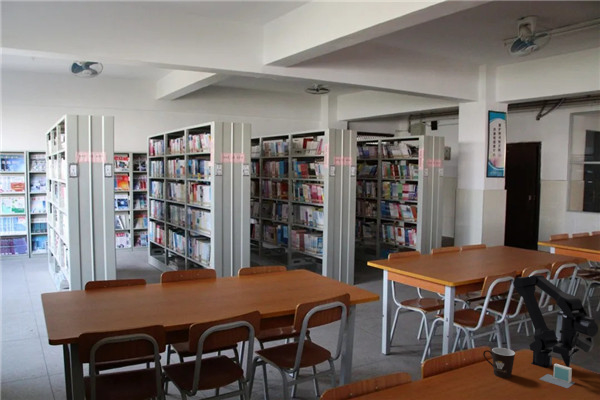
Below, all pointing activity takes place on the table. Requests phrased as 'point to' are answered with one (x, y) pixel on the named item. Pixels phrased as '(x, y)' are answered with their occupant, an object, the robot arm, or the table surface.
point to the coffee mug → (502, 361)
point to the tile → (562, 373)
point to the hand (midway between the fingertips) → (567, 366)
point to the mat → (556, 381)
